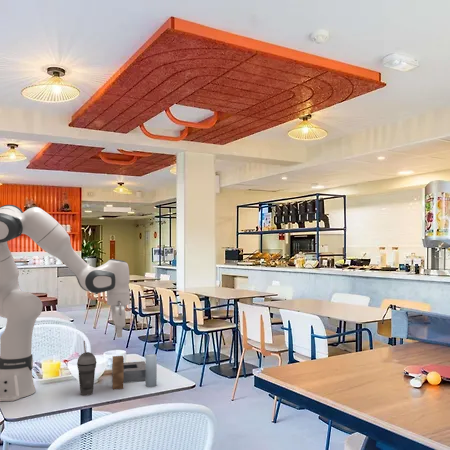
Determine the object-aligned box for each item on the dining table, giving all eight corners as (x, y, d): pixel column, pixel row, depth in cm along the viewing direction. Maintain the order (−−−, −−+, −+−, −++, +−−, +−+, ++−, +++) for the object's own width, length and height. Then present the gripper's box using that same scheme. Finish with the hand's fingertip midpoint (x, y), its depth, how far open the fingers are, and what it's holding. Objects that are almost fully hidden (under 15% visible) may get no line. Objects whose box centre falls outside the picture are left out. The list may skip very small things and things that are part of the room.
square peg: (113, 389, 188) (113, 358, 189) (112, 386, 192) (112, 356, 193) (123, 388, 190) (123, 358, 190) (122, 385, 193) (122, 355, 194)
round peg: (146, 387, 191) (146, 357, 191) (144, 384, 195) (144, 354, 195) (157, 386, 192) (157, 356, 193) (155, 383, 196) (155, 353, 197)
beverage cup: (90, 397, 179) (91, 343, 180) (72, 396, 181) (73, 342, 181) (99, 391, 186) (100, 339, 187) (82, 389, 188) (82, 338, 188)
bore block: (114, 383, 196) (114, 372, 196) (112, 374, 210) (112, 363, 210) (148, 380, 200) (148, 369, 201) (144, 371, 214) (144, 361, 214)
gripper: (128, 303, 183) (129, 339, 182) (124, 296, 202) (124, 329, 202) (111, 303, 181) (112, 340, 181) (108, 297, 200) (108, 330, 200)
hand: (118, 334), depth 191 cm, fingers open, 8 cm apart
